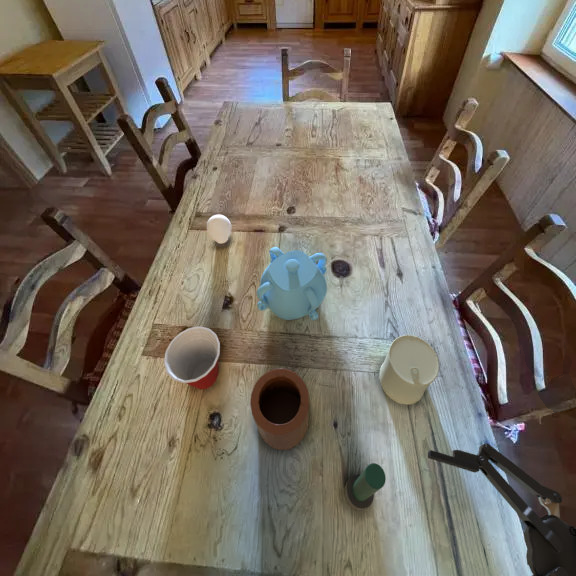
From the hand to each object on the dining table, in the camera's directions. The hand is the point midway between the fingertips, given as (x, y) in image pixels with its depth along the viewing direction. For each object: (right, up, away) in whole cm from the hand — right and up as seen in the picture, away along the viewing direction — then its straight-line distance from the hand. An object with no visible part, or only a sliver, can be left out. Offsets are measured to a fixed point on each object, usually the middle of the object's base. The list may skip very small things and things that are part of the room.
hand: (428, 513), depth 47 cm
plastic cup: (-38, +5, +27) cm, 46 cm away
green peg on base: (-8, -8, +12) cm, 16 cm away
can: (+4, +5, +24) cm, 25 cm away
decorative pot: (-18, +18, +39) cm, 47 cm away
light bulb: (-38, +30, +52) cm, 71 cm away
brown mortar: (-20, 0, +20) cm, 29 cm away
